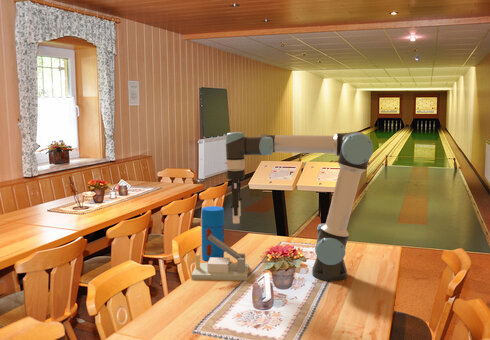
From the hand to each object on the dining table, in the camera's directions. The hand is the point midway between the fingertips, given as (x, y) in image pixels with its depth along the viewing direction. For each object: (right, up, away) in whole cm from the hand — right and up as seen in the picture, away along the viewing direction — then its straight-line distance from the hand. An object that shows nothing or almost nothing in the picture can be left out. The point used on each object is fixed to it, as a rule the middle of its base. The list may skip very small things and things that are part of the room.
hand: (236, 219), depth 205 cm
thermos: (-12, -23, +31) cm, 40 cm away
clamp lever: (-5, -15, +10) cm, 18 cm away
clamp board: (-7, -25, +11) cm, 28 cm away
